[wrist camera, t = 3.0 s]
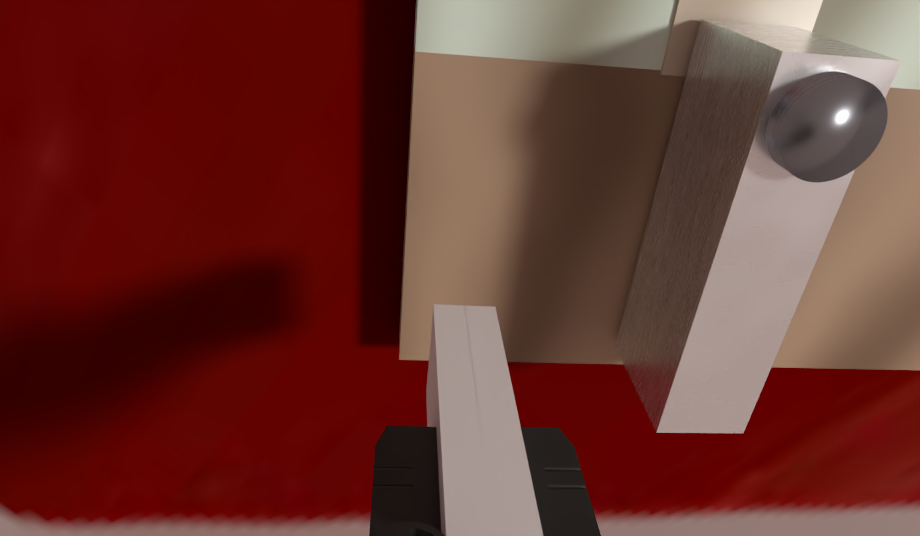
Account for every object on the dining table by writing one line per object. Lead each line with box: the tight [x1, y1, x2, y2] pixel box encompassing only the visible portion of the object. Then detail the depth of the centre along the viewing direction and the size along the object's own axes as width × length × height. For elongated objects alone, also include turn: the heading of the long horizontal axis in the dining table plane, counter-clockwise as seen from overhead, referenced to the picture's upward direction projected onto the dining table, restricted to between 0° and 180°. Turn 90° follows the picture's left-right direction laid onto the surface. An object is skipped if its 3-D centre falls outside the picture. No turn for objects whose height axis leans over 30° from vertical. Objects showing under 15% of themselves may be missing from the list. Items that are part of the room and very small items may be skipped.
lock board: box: [399, 0, 920, 370], centre depth 16 cm, size 21×20×6 cm
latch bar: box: [615, 19, 901, 433], centre depth 17 cm, size 10×3×5 cm, turn 175°
